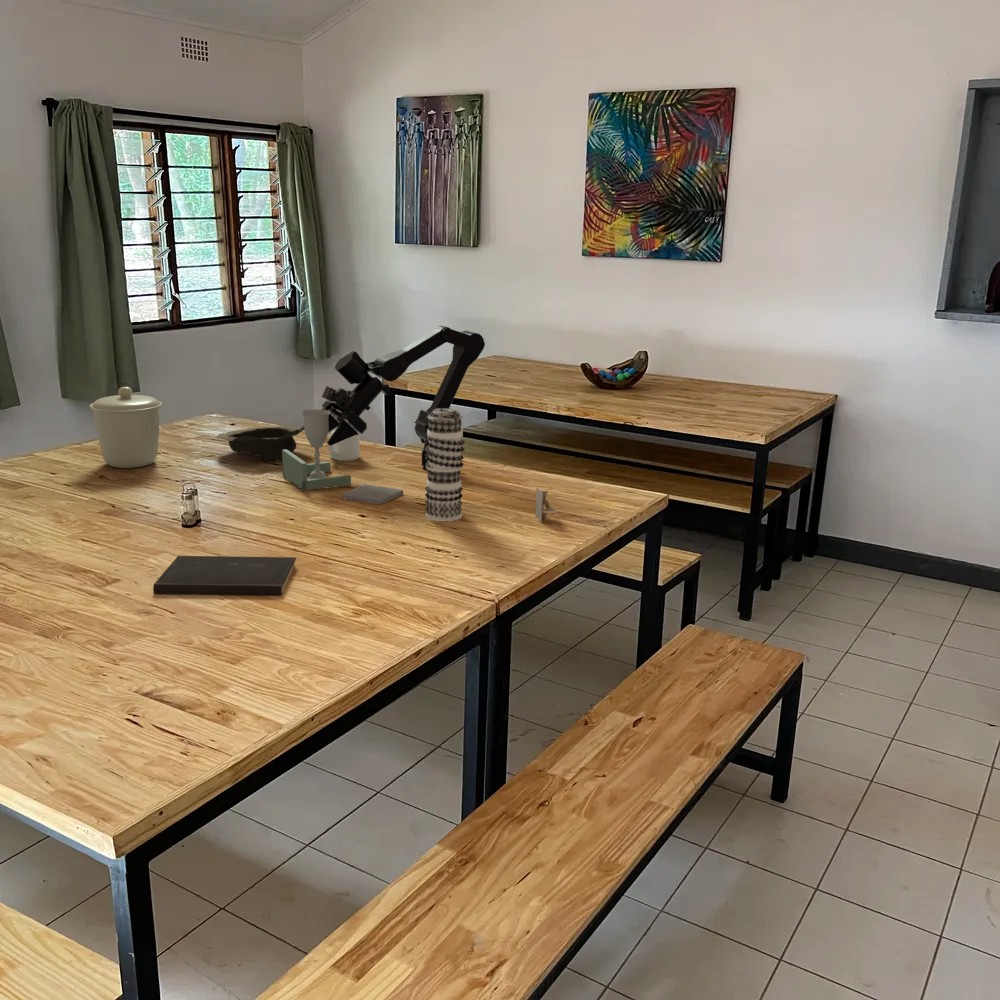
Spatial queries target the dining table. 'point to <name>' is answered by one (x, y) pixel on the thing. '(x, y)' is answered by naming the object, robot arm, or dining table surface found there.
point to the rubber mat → (372, 494)
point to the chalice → (316, 435)
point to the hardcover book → (225, 576)
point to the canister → (127, 428)
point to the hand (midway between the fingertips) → (322, 440)
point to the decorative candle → (444, 465)
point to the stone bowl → (263, 441)
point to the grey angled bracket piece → (540, 505)
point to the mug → (345, 448)
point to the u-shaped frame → (299, 469)
